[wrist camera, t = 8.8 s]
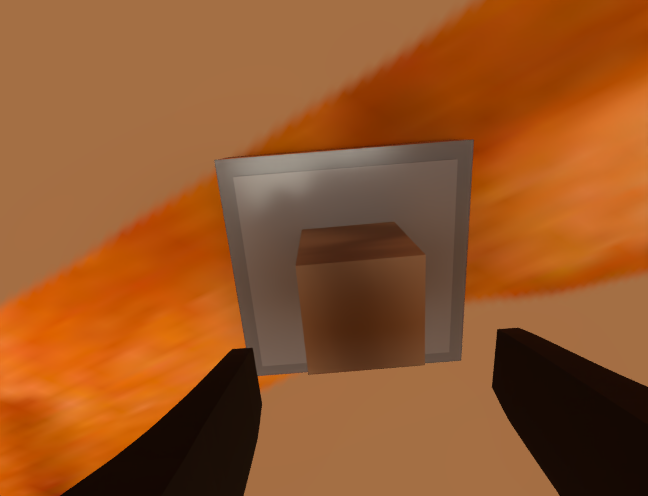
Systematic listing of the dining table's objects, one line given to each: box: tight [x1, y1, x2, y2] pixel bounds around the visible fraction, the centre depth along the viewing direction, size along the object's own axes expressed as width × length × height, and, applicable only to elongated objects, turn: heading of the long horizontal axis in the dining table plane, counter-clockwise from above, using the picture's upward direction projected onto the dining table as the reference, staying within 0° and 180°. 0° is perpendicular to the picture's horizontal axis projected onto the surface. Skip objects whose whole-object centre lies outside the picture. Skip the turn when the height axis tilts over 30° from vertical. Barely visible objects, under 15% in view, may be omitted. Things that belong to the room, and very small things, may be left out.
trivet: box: [215, 140, 474, 376], centre depth 18 cm, size 12×12×3 cm
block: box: [296, 222, 426, 375], centre depth 15 cm, size 4×4×5 cm
